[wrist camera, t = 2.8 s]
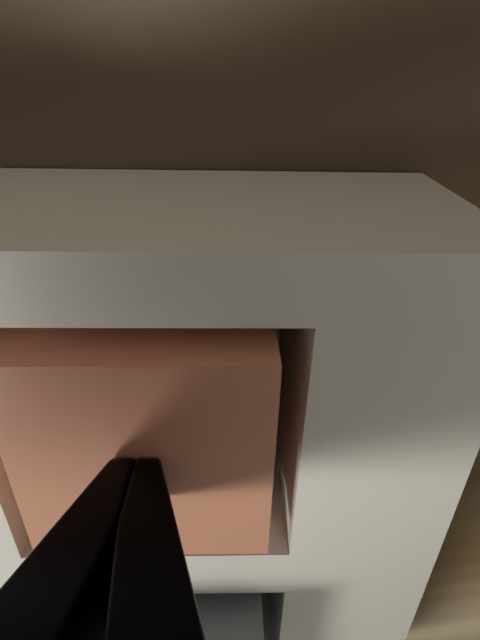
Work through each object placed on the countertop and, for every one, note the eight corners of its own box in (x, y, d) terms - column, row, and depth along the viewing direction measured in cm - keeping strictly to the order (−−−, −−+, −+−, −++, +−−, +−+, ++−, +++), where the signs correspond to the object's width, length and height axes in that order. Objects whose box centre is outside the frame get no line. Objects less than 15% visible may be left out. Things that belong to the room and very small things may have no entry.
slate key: (251, 605, 15) (258, 771, 12) (110, 607, 15) (74, 775, 11) (256, 514, 13) (267, 687, 9) (89, 516, 13) (36, 692, 9)
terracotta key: (257, 416, 13) (267, 553, 9) (88, 417, 12) (34, 556, 9) (264, 261, 10) (282, 366, 7) (57, 260, 10) (-30, 367, 7)
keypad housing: (321, 648, 22) (357, 877, 16) (-1, 654, 21) (-92, 891, 15) (422, 172, 11) (677, 330, 5) (-247, 165, 10) (-929, 327, 4)
